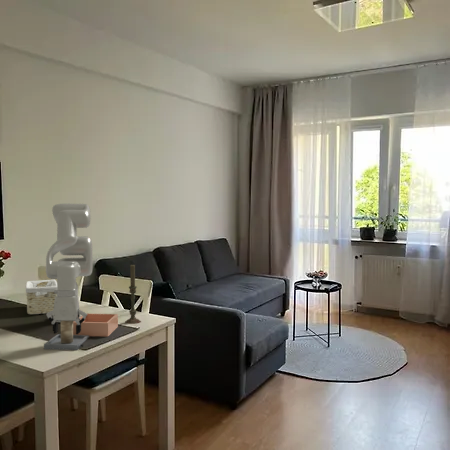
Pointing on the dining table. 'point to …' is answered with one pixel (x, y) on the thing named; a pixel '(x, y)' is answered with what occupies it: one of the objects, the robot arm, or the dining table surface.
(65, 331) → the birch peg
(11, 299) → the dining table surface
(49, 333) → the dining table surface
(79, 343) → the grey tray
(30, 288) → the storage basket
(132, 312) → the candlestick holder
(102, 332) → the pink open storage bin
